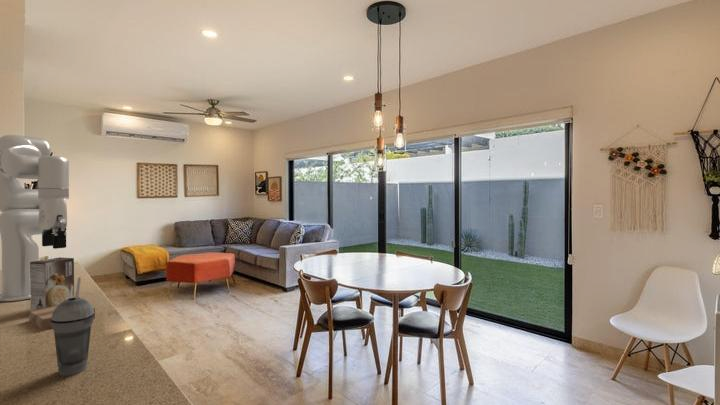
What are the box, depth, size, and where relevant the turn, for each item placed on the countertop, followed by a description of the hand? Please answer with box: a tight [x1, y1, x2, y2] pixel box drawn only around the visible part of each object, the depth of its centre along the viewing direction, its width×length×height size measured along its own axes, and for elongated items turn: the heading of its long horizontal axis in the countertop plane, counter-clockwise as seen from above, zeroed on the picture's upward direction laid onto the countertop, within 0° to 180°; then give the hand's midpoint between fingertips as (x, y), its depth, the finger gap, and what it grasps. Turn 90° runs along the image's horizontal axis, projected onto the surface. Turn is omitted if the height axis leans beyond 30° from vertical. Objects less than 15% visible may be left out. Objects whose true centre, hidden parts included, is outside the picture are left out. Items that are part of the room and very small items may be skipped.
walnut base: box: [28, 306, 96, 331], centre depth 104 cm, size 12×12×3 cm
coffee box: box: [29, 256, 75, 311], centre depth 114 cm, size 9×6×16 cm
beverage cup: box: [51, 277, 96, 377], centre depth 74 cm, size 7×7×20 cm
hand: (53, 246), depth 113 cm, fingers open, 9 cm apart
